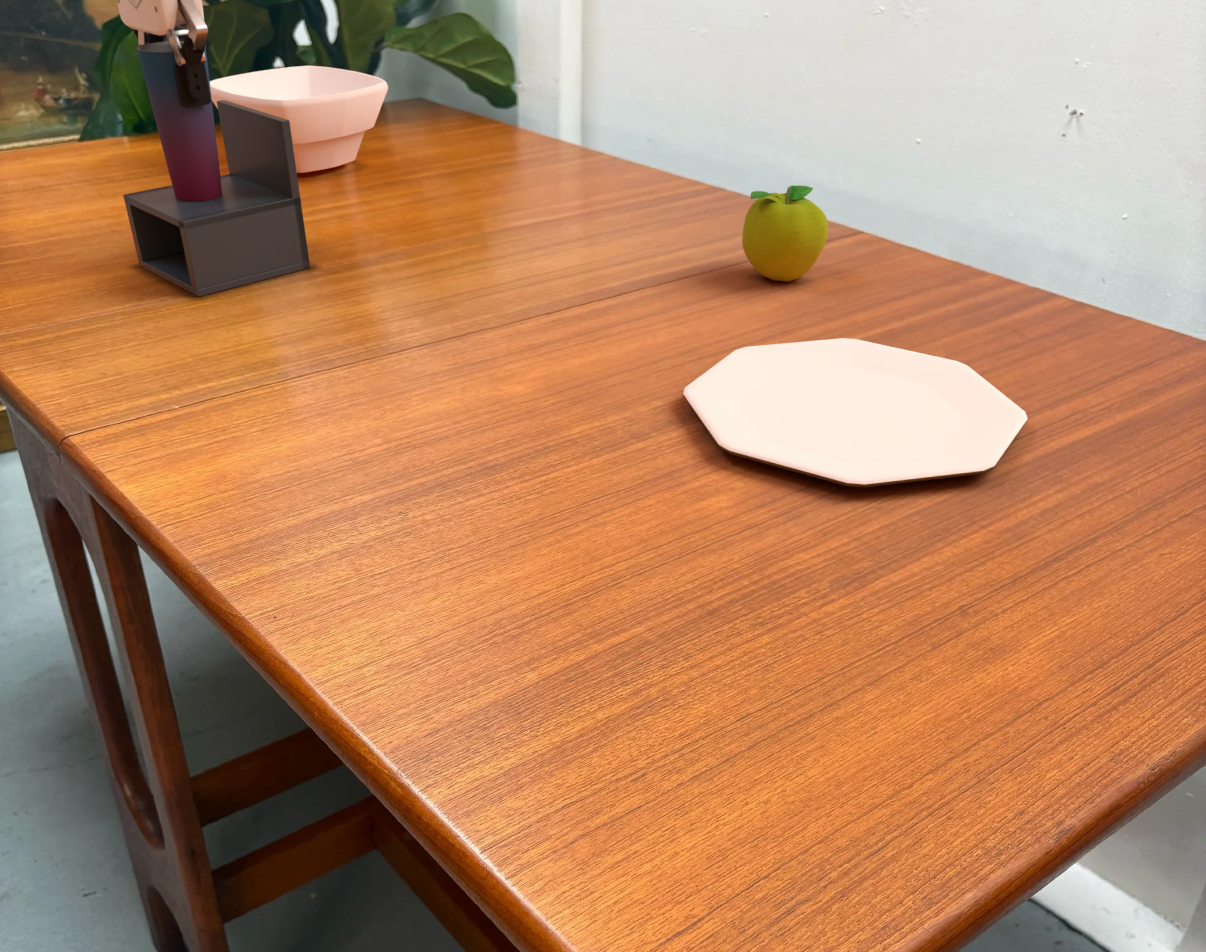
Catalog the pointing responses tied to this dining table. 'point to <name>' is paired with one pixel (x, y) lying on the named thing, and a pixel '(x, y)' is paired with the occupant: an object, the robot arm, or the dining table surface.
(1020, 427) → the plate
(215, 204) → the dark grey toy chair
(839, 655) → the dining table surface
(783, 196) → the fruit
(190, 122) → the cup
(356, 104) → the bowl
